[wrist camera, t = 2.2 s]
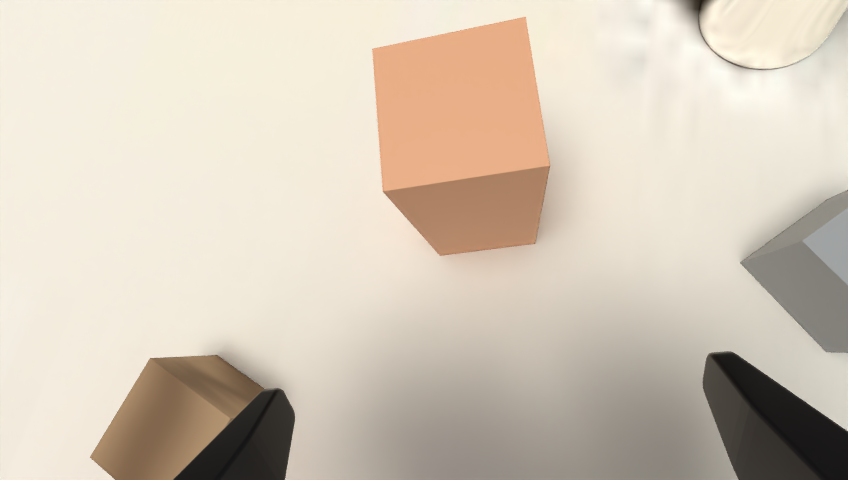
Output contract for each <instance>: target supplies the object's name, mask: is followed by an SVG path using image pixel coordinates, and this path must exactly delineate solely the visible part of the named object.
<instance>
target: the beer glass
mask: <svg viewBox="0 0 848 480" xmlns="http://www.w3.org/2000/svg"><path fill="white" fill-rule="evenodd" d="M847 8H848V0H703V1H702V3H701V7H700V11H699V26H700V30H701V33H702V35H703V37H704V39H705V41H706V42H707V44H708V45H709V46H710V47H711V48H712V49H713V50H714V51H715V52H716V53H717V54H718V55H720V56H721V57H722V58H724V59H726V60H727V61H729V62H732V63H734V64H737V65H740V66H743V67H747V68H753V69H774V68H780V67H785V66H788V65H791V64H794V63H796V62H798V61H800V60H802V59H804V58H806V57H807V56H809V55H810V54H812V53H813V52H814V51H815V50H817V49H818V48H819V47H820V46H821V44H822V43H823V42H824V41H825V40H826V39H827V37H828V36H829V34H830V33H831V31H832V30H833V28H834V27H835V25H836V24H837V22H838V21H839V19H840V18H841V16H842V15H843V13H844V12H845V10H846V9H847Z"/></svg>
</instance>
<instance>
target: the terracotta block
mask: <svg viewBox="0 0 848 480" xmlns="http://www.w3.org/2000/svg"><path fill="white" fill-rule="evenodd" d="M372 50H373V64H374V77H375V91H376V105H377V118H378V132H379V146H380V159H381V173H382V187H383V192H384V193H385V194H386V196H387V197H388V198H389V199H390V200H391V201H392V202H393V203H394V204H395V206H396V207H397V208H398V209H399V210H400V211H401V212H402V213H403V215H404V216H405V217H406V218H407V219H408V220H409V221H410V222H411V224H412V225H413V226H414V227H415V228H416V229H417V230H418V231H419V233H420V234H421V235H422V236H423V237H424V238H425V239H426V240H427V242H428V243H429V244H430V245H431V246H432V247H433V248H434V249H435V251H436V252H437V253H438V254H439V255H440V256H441V255H449V254H456V253H464V252H472V251H480V250H488V249H496V248H504V247H512V246H519V245H527V244H535V241H536V236H537V231H538V226H539V220H540V215H541V210H542V205H543V200H544V194H545V189H546V184H547V179H548V173H549V168H550V163H549V157H548V151H547V144H546V138H545V132H544V126H543V120H542V114H541V108H540V102H539V96H538V90H537V84H536V78H535V72H534V65H533V59H532V53H531V47H530V41H529V35H528V29H527V23H526V17H523V18H518V19H513V20H508V21H503V22H499V23H494V24H489V25H484V26H479V27H475V28H470V29H465V30H460V31H456V32H451V33H446V34H441V35H436V36H432V37H427V38H422V39H417V40H412V41H408V42H403V43H398V44H393V45H389V46H384V47H379V48H374V49H372Z"/></svg>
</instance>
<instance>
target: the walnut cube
mask: <svg viewBox="0 0 848 480" xmlns="http://www.w3.org/2000/svg"><path fill="white" fill-rule="evenodd" d="M263 390H265V389H264V388H263V387H261V386H260V385H258V384H257V383H255V382H254V381H253V380H251V379H250V378H248V377H247V376H246V375H244V374H243V373H241V372H240V371H238V370H237V369H236V368H234V367H233V366H231V365H230V364H229V363H227V362H226V361H224V360H223V359H222V358H220V357H219V356H217V355H211V356H189V357H167V358H150V359H149V361H148V363H147V364H146V366H145V368H144V369H143V371H142V373H141V374H140V376H139V378H138V379H137V381H136V382H135V384H134V386H133V387H132V389H131V391H130V392H129V394H128V396H127V397H126V399H125V401H124V402H123V404H122V405H121V407H120V409H119V410H118V412H117V414H116V415H115V417H114V419H113V420H112V422H111V424H110V425H109V427H108V429H107V430H106V432H105V433H104V435H103V437H102V438H101V440H100V442H99V443H98V445H97V447H96V448H95V450H94V452H93V453H92V455H91V456H90V458H91V459H92V460H94V461H95V462H96V463H97V464H98V465H99V466H100V467H102V468H103V469H104V470H105V471H106V472H107V473H108V474H109V475H111V476H112V477H113V478H114V479H115V480H173V479H174V478H175V477H176V476H177V475H178V474H179V473H180V472H181V471H182V470H183V469H184V468H185V467H186V466H187V465H188V464H189V463H190V462H191V461H192V460H193V459H194V458H195V457H196V456H197V455H198V454H199V453H200V452H201V451H202V450H203V449H204V448H205V447H206V446H207V445H208V444H209V443H210V442H211V441H212V440H213V439H214V438H215V437H216V436H217V435H218V434H219V433H220V432H221V431H222V430H223V429H224V428H225V427H226V426H227V425H228V424H229V423H230V422H231V421H232V420H233V419H234V418H235V417H236V416H237V415H238V414H239V413H240V412H241V411H242V410H243V409H244V408H245V407H246V406H247V405H248V404H249V403H250V402H251V401H252V400H253V399H254V398H255V397H256V396H257V395H258V394H259V393H260V392H261V391H263Z"/></svg>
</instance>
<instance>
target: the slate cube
mask: <svg viewBox="0 0 848 480" xmlns="http://www.w3.org/2000/svg"><path fill="white" fill-rule="evenodd" d="M740 263H741V264H742V265H743V266H744V267H745V268H746V270H747V271H748V272H749V273H750V274H751V275H752V276H753V277H754V278H755V279H756V280H757V281H758V282H759V283H760V284H761V285H762V286H763V287H764V288H765V289H766V290H767V291H768V292H769V293H770V294H771V295H772V296H773V297H774V299H775V300H776V301H777V302H778V303H779V304H780V305H781V306H782V307H783V308H784V309H785V310H786V311H787V312H788V313H789V314H790V315H791V316H792V317H793V318H794V319H795V320H796V321H797V322H798V323H799V324H800V325H801V326H802V328H803V329H804V330H805V331H806V332H807V333H808V334H809V335H810V336H811V337H812V338H813V339H814V340H815V341H816V342H817V343H818V344H819V345H820V346H821V347H822V348H823V349H824V350H825V351H826V352H844V353H848V190H847V191H845V192H843V193H840V194H838V195H836V196H834V197H832V198H829V199H827V200H826V201H825V202H823V203H822V204H820V205H819V206H818V207H816V208H815V209H814V210H812V211H811V212H809V213H808V214H807V215H805V216H804V217H802V218H801V219H800V220H798V221H797V222H796V223H794V224H793V225H791V226H790V227H789V228H787V229H786V230H785V231H783V232H782V233H780V234H779V235H778V236H776V237H775V238H773V239H772V240H771V241H769V242H768V243H767V244H765V245H764V246H762V247H761V248H760V249H758V250H757V251H756V252H754V253H753V254H751V255H750V256H749V257H747V258H746V259H745V260H743V261H742V262H740Z"/></svg>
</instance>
